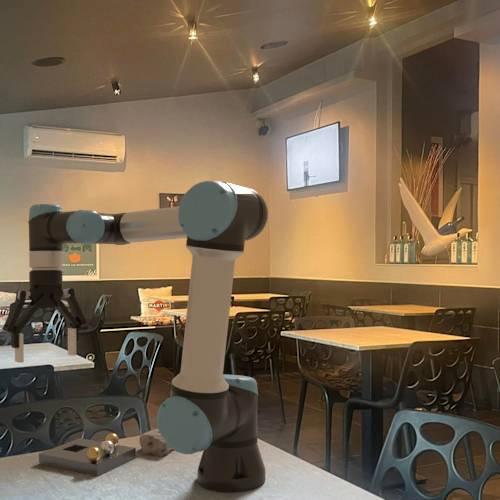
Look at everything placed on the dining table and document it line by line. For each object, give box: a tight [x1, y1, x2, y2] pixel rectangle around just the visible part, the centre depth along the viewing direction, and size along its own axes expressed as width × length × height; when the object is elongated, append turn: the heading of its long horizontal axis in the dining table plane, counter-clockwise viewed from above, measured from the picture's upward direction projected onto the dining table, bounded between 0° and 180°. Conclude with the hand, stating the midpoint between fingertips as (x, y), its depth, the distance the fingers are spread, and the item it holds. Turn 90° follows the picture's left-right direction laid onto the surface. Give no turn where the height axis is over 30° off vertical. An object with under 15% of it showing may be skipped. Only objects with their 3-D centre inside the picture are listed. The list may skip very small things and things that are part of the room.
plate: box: [38, 437, 137, 477], centre depth 148 cm, size 18×14×2 cm
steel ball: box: [101, 440, 114, 455], centre depth 145 cm, size 3×3×3 cm
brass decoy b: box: [104, 432, 120, 446], centre depth 152 cm, size 3×3×3 cm
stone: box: [139, 428, 173, 457], centre depth 158 cm, size 13×6×10 cm
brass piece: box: [87, 447, 101, 462], centre depth 141 cm, size 3×3×3 cm
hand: (46, 358), depth 145 cm, fingers open, 13 cm apart
